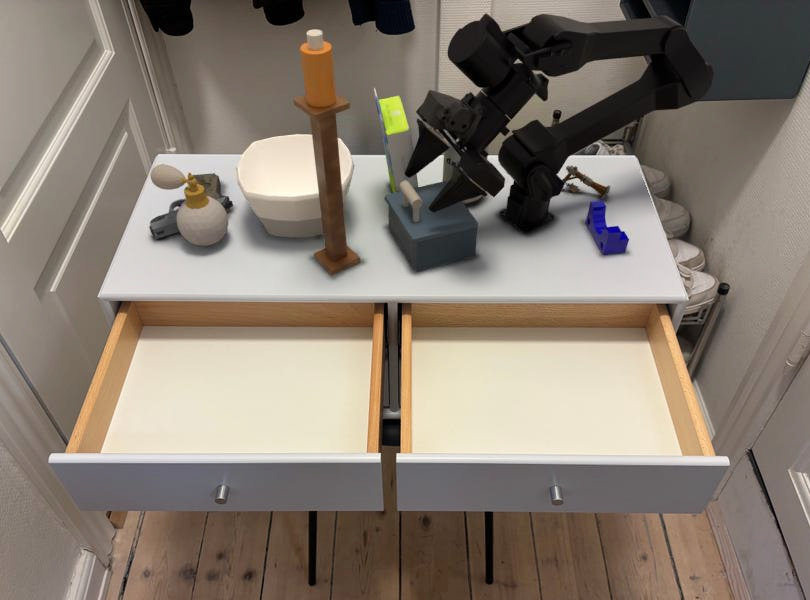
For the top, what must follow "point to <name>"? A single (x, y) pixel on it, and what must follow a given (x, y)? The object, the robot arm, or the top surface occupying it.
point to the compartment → (434, 246)
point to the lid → (427, 213)
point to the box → (395, 140)
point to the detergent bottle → (318, 70)
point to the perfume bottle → (193, 207)
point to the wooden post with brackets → (586, 180)
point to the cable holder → (605, 230)
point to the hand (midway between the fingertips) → (418, 192)
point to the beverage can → (449, 160)
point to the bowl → (287, 183)
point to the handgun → (168, 221)
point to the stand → (329, 184)
